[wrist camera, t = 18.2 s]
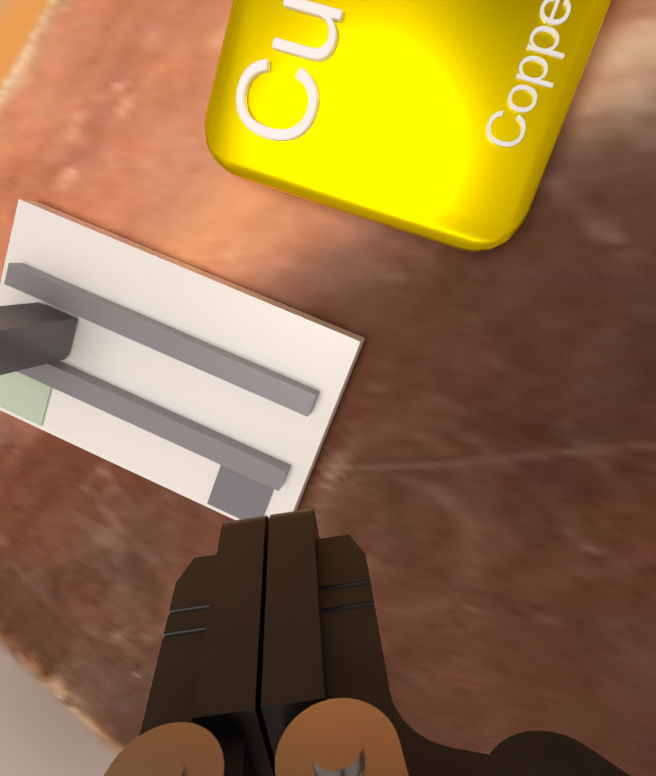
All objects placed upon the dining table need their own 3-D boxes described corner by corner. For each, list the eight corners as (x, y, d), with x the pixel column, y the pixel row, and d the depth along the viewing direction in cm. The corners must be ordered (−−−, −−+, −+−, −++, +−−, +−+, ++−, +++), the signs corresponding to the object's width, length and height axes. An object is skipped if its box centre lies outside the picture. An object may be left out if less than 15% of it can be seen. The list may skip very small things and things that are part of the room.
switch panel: (37, 201, 34) (5, 197, 31) (365, 338, 32) (357, 344, 29) (-7, 393, 37) (-39, 402, 35) (288, 529, 35) (275, 549, 32)
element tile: (502, 264, 30) (509, 264, 25) (226, 174, 32) (186, 159, 27) (633, -75, 26) (670, -147, 21) (310, -154, 28) (280, -235, 23)
